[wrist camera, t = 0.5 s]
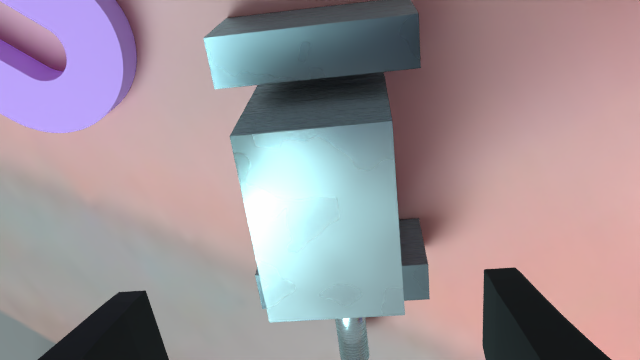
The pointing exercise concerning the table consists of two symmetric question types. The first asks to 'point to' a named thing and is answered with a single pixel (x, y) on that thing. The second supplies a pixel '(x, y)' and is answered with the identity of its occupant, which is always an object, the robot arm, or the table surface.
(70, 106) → the bracket
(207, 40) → the vise jaws
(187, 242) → the table surface
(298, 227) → the steel block
